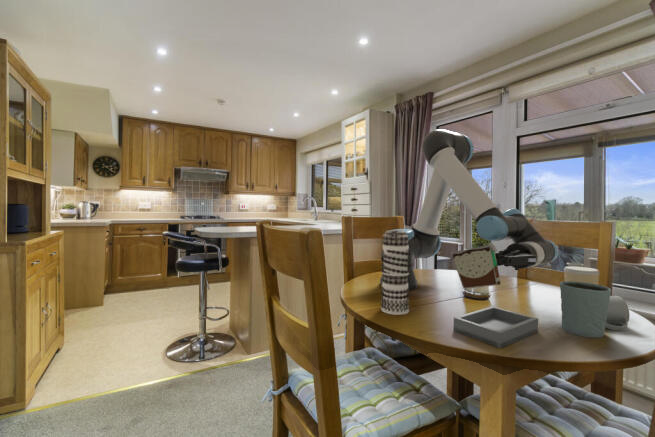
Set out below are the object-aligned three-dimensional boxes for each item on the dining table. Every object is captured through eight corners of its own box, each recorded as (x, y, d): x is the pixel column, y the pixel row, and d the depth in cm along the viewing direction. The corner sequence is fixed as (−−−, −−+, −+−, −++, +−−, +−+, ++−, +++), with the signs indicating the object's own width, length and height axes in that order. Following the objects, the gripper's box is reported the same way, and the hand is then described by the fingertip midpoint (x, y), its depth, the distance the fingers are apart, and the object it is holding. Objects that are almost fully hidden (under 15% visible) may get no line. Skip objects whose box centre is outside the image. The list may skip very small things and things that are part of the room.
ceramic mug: (579, 316, 91) (580, 291, 91) (612, 319, 89) (613, 293, 89) (600, 330, 81) (601, 301, 81) (638, 333, 79) (640, 304, 78)
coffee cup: (588, 300, 108) (589, 266, 107) (605, 309, 98) (606, 271, 98) (557, 298, 110) (558, 265, 109) (572, 306, 101) (573, 270, 100)
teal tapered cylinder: (550, 323, 86) (551, 280, 85) (589, 324, 84) (591, 281, 84) (576, 338, 75) (577, 289, 75) (621, 340, 74) (622, 291, 74)
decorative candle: (416, 311, 94) (417, 231, 94) (394, 317, 89) (395, 231, 89) (395, 304, 102) (396, 229, 102) (374, 308, 97) (374, 230, 97)
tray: (453, 330, 80) (453, 317, 79) (491, 318, 89) (492, 306, 89) (500, 348, 69) (500, 333, 69) (537, 331, 79) (538, 318, 79)
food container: (517, 281, 75) (505, 241, 77) (503, 284, 72) (491, 242, 74) (472, 286, 85) (462, 250, 87) (458, 289, 82) (449, 252, 84)
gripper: (548, 271, 85) (504, 282, 72) (501, 264, 96) (455, 272, 83) (549, 244, 85) (504, 250, 72) (501, 240, 96) (455, 245, 83)
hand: (478, 262), depth 78 cm, fingers closed
